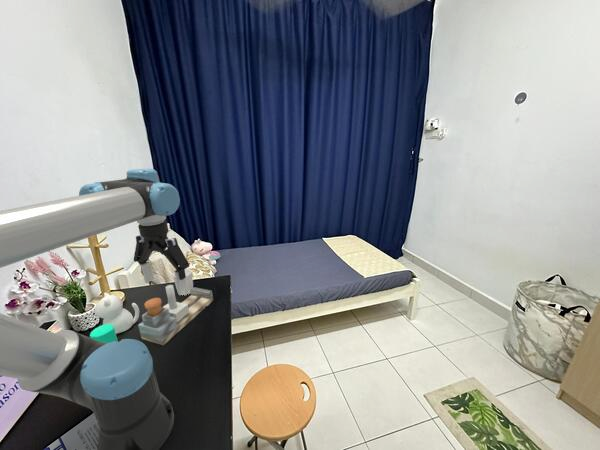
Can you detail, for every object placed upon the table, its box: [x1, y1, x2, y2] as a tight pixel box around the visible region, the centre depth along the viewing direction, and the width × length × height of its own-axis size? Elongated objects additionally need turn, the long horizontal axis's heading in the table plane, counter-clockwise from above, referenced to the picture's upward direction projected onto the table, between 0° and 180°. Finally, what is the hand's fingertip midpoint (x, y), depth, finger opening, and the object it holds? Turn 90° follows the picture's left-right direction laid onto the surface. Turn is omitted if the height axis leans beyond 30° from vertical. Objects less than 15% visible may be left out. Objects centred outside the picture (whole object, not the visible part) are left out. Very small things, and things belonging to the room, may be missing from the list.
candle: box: [89, 324, 119, 343], centre depth 79 cm, size 6×6×12 cm
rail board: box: [137, 286, 214, 346], centre depth 97 cm, size 27×10×10 cm, turn 161°
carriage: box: [163, 284, 189, 322], centre depth 93 cm, size 6×8×13 cm
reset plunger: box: [143, 297, 163, 316], centre depth 86 cm, size 5×5×7 cm
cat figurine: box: [94, 292, 140, 335], centre depth 91 cm, size 9×12×15 cm
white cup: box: [172, 268, 194, 297], centre depth 115 cm, size 8×8×10 cm
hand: (165, 284), depth 80 cm, fingers open, 13 cm apart
